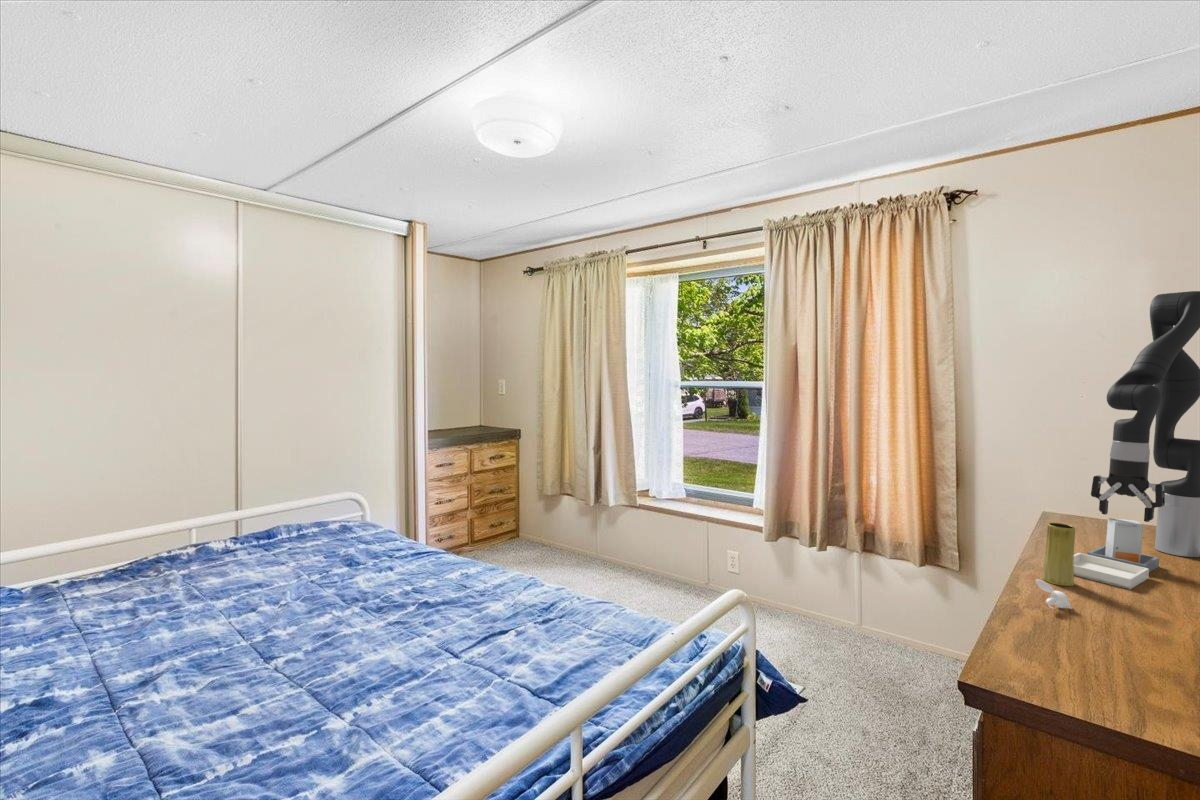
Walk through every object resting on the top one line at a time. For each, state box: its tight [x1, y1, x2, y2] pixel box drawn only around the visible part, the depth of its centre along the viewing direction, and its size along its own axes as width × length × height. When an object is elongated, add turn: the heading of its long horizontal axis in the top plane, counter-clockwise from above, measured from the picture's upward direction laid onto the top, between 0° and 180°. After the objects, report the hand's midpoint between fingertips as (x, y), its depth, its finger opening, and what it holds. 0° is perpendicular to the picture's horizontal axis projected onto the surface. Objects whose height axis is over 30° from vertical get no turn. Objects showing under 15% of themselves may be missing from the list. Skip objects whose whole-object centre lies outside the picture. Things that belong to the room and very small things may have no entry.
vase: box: [1041, 522, 1076, 587], centre depth 135 cm, size 6×6×14 cm
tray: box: [1074, 552, 1150, 590], centre depth 140 cm, size 14×14×2 cm
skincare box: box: [1105, 517, 1144, 564], centre depth 148 cm, size 6×4×12 cm
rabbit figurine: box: [1035, 579, 1073, 610], centre depth 120 cm, size 6×4×8 cm
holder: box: [1087, 545, 1160, 573], centre depth 148 cm, size 12×12×2 cm
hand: (1125, 517), depth 147 cm, fingers open, 8 cm apart
